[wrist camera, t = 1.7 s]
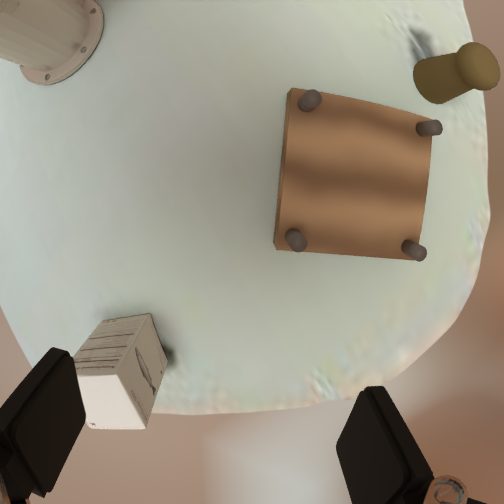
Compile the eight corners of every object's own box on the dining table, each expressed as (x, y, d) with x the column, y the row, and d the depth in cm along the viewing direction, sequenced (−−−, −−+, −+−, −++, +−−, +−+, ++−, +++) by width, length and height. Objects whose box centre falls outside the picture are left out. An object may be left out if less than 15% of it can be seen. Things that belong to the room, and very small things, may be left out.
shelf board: (287, 94, 30) (297, 79, 24) (419, 121, 31) (448, 117, 25) (273, 242, 34) (280, 258, 28) (403, 253, 35) (428, 268, 29)
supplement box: (169, 361, 38) (148, 431, 26) (120, 366, 38) (88, 430, 26) (151, 311, 36) (117, 374, 24) (100, 318, 36) (55, 376, 24)
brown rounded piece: (454, 106, 30) (512, 96, 19) (417, 102, 30) (475, 87, 19) (445, 62, 28) (500, 42, 18) (408, 56, 28) (460, 29, 18)
